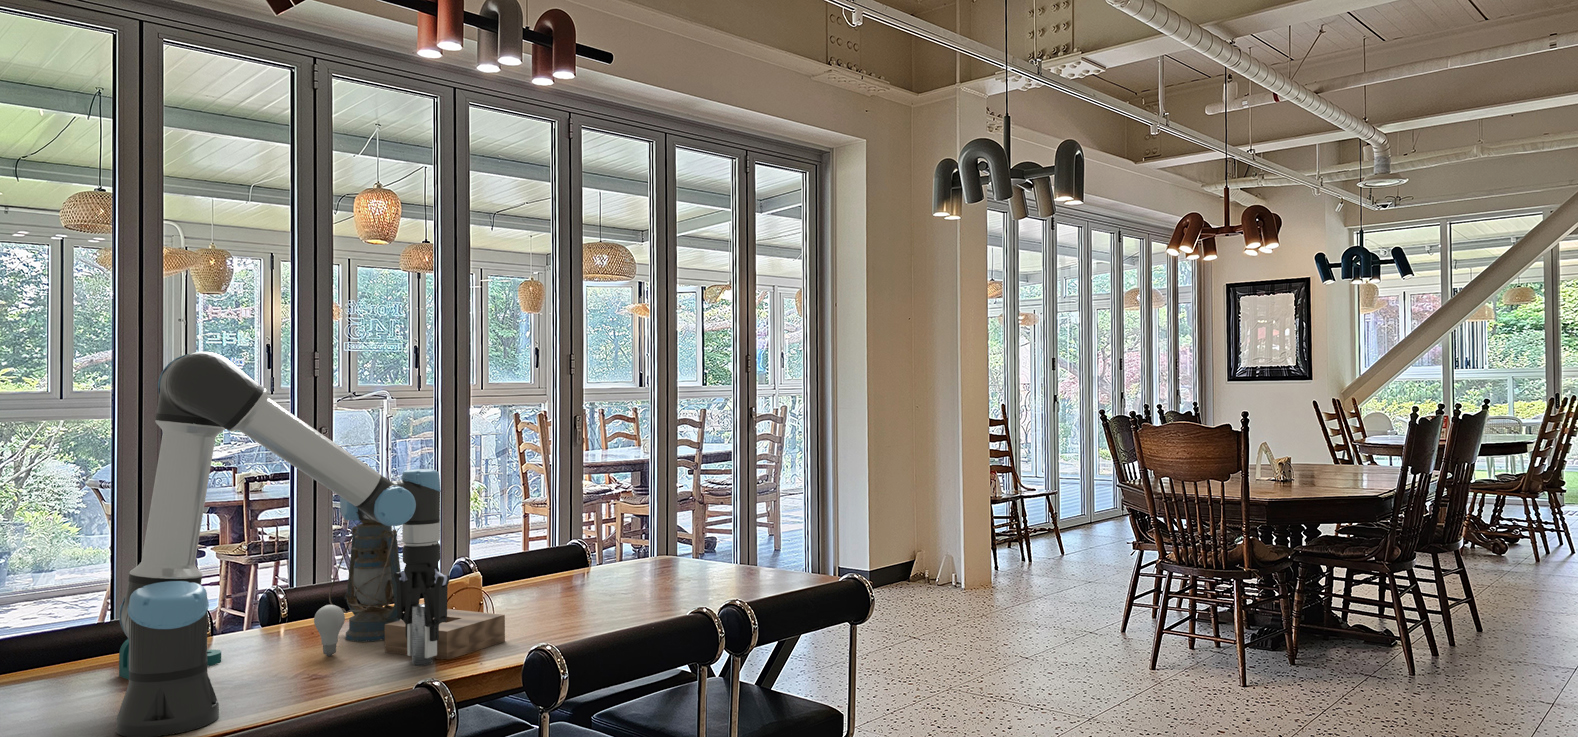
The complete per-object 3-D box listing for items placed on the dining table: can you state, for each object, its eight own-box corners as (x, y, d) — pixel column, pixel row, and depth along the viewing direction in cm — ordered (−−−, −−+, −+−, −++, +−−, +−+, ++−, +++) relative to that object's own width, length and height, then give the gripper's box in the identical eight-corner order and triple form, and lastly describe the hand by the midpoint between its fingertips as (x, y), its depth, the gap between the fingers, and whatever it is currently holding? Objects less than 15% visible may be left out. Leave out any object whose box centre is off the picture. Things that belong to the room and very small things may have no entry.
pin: (422, 666, 215) (421, 608, 215) (407, 664, 217) (407, 606, 217) (436, 661, 218) (436, 604, 219) (422, 660, 220) (422, 603, 220)
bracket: (131, 682, 207) (131, 642, 207) (119, 676, 211) (119, 637, 211) (226, 663, 221) (226, 626, 221) (213, 658, 225) (213, 621, 225)
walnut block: (447, 659, 220) (446, 631, 220) (384, 651, 228) (384, 624, 228) (504, 641, 236) (504, 614, 236) (444, 634, 244) (444, 608, 244)
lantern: (425, 634, 245) (424, 506, 245) (373, 647, 232) (372, 512, 233) (370, 625, 254) (370, 503, 255) (318, 638, 242) (317, 508, 243)
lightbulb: (333, 660, 221) (333, 608, 221) (307, 659, 222) (307, 607, 222) (350, 653, 227) (350, 602, 227) (326, 652, 228) (325, 601, 228)
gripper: (465, 542, 218) (466, 655, 217) (405, 538, 225) (405, 647, 225) (439, 547, 211) (440, 663, 210) (377, 543, 218) (378, 655, 218)
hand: (422, 655), depth 218 cm, fingers open, 4 cm apart
